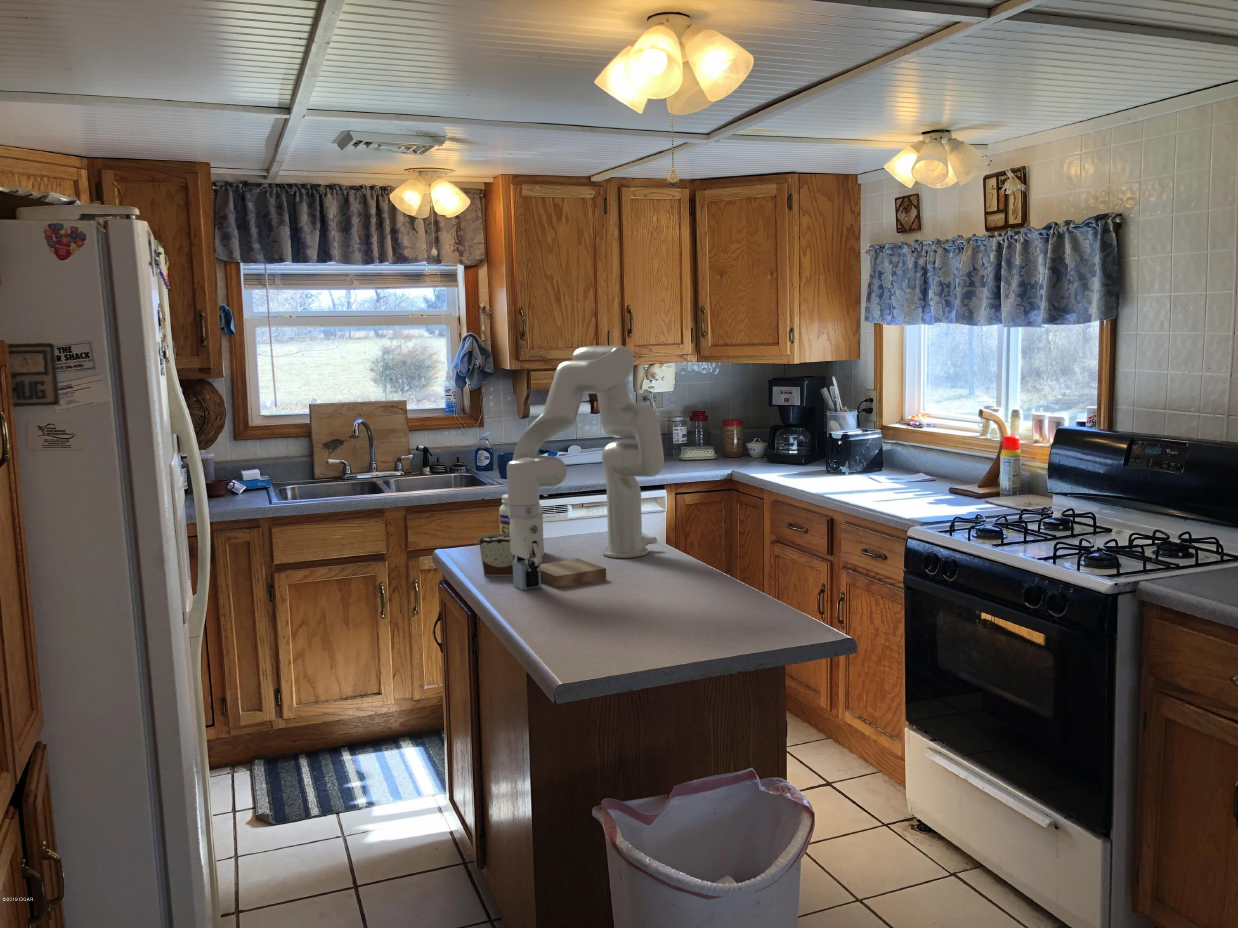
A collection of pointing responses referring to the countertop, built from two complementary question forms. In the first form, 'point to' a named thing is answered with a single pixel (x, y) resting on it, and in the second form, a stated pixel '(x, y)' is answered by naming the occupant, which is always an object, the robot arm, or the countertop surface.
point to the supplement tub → (506, 520)
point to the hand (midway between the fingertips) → (527, 583)
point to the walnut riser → (571, 573)
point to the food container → (496, 554)
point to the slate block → (522, 575)
